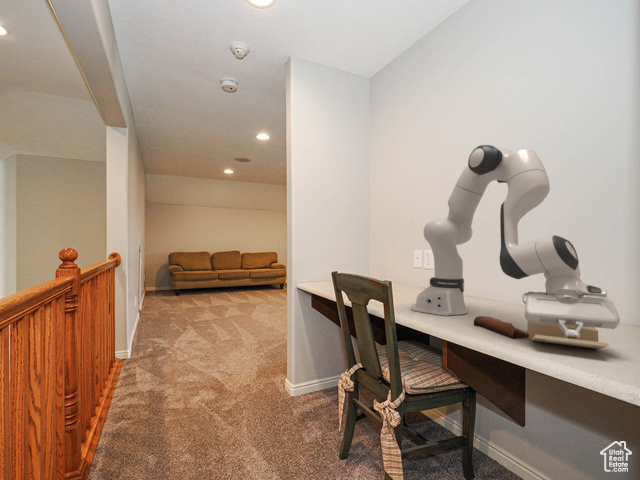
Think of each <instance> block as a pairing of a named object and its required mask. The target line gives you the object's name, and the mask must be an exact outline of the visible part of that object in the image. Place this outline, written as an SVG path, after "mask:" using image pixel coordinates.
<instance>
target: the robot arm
mask: <svg viewBox="0 0 640 480" xmlns="http://www.w3.org/2000/svg"><path fill="white" fill-rule="evenodd" d="M469 154H470V155H469V157H468V161H467V166H466V167H464V169H463V171H462V172H461V174H460V176H459V178H458V180H457V181H456V183H455V185H454V187H453V189H452V192H451V193H450V196H449V198H448V199H447V206H448V215H447V218H436V219H432V220H430V221H428V222H427V223H426V224H425V226H424V228H423V237H424V239H425V241H426V242H428V244H429V246H430V249H431V252H432V255H433V260H434V261H433V262H434V276H432V277H431V278H430V279H429V286H428V287H426V288H425V289H424V290H422V291H421V292H420V293H418V294H417V296H416V300H415V303H414V304H412V305H410V311H413V312H419V313H426V314H433V315H439V316H458V315H466V314H467V313H468V310H467V308H466V303H465V298H464V291H465V279H464V277H463V276H464V275H463V274H464V273H463V272H464V271H463V267H464V266H463V265H464V264H463V258H462V257H461V256H460V255H459V252H458V248H457V246H461V245H462V244H465V243H467V242H469V241H470V240H471V239H472V237H473V228H472V225H473V219H474V215H475V212H476V211H477V208H478V206H479V204H480V202H481V201H482V198H483V195H484V194H485V191H486V189H487V188H488V186H489V184H490V183H492V182H493V181H497V183H499V184H506V185H507V194H506V197H505V199H504V201H503V202H502V203H501V205H500V213H499V214H500V219H499V220H500V221H499V222H500V224H499V226H500V229H499V230H500V251H499V266H500V268H501V271H502V272H503V274H505V275H506V276H508V277H510V278H513V279H515V280H521V279H524V278H528V277H530V276H534V275H535V276H536V275H539V274H543V275H544V278H545V280H546V281H545V285H544V287H545V292H544V291H528V292H525V293H523V294H522V296H521V297H522V302H523V303H524V305H525V307H524V318H525V319H526V320H527V322H528V321H534V322H544V323H555V324H558V327H559V328H560V329H561V330H562V331H563V332H564V334H565V338H571V339H579V338H580V335H579V332H580V331H581V329H582V327H583V326H586V327H595V328H596V329H597V328H598V329H609V330H615V329H616V328H617V327H618V326H619V324H620V316H619V313H618V310H617V307H616V305H615V304H614V302H613V301H612V300H611V299H610V298H609V297H608V291H607V289H605V288H603V287H601V286H595V285H591V284H587V283H585V282H583V281H582V279H581V269H580V266H579V264H580V263H579V262H580V261H579V257H578V254H577V251H576V249H575V246H574V245H573V244H572V242H571V241H569V240H568V239H566V238H564V237H562V236H559V235H549V236H546V237H542V238H538V239H535V240H532V241H530V242H529V241H528V242H526V243H525V242H524V243H521V244H519V234H518V233H519V232H518V231H519V230H518V224H519V223H520V221H521V220H522V218H524V216H525V215H527V214H529V212H531V211H532V210H534V209H535V208H536V207H538V206H540V205H541V204H542V203H543V202H544V200H545V199H546V198H547V197H548V194H549V193H550V190H551V185H550V180H549V176H548V173H547V171H546V168H545V165H544V164H543V162H542V160H541V158H540V157H539V155H538V153H536V151H534V150H532V149H530V148H520V149H517V150H515V151H512V150H510V149H507V148H501V147H497V146H496V147H495V146H494V145H490V144H480V145H478V146H476V147H475V148H473V150H472V151H471V153H469ZM565 325H575V328H577V329H576V330H569V329H567V327H566V326H565Z"/></svg>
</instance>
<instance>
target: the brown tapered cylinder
mask: <svg viewBox="0 0 640 480" xmlns="http://www.w3.org/2000/svg"><path fill="white" fill-rule="evenodd" d="M473 325H474V326H478V327H480V328H481V327H483V328H486V329H488V330H491V331H494V332H497V333H499V334H501V335H504V336H507V337H509V338H511V339H513V340H516V339H529V334H528V332H525V331H523V330H521V329H519V328H516V327H515V326H514V325H513V324H512V323H510V322H506V321H503V320H500V319H497V318H495V317H491V316H484V315H479V316H476V317H475V318H474V319H473Z"/></svg>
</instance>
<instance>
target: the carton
mask: <svg viewBox="0 0 640 480" xmlns="http://www.w3.org/2000/svg"><path fill="white" fill-rule="evenodd" d="M565 326H566V327H567V329H569V330H576V329H577V328H575V325H565ZM527 334H529V337H528V339H529V340H532V337H533V336H534V335H535V334H536V335H544V336H552V337H560V338H565V334H564V332H563V331H562V330H561V329H560V328H559V327H558V324H555V323H544V322H534V321H528V320H527ZM579 335H580V338H579V339H577V340H585V341H594V342H599V330H598V329H597V327H586V326H583V327H582V329H581V331H580V332H579ZM569 339H571V338H569Z"/></svg>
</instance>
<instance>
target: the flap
mask: <svg viewBox="0 0 640 480" xmlns="http://www.w3.org/2000/svg"><path fill="white" fill-rule="evenodd" d="M531 341H532V342H538V343H547V344H555V345H563V346H570V347H578V348H586V349H595V350H599V349H604V348H608V347H609V343H608V342H600V341H598V342H594V341H585V340H577V339H569V338H560V337H552V336H544V335H536V334H535V335H534V336H533V337H532V339H531Z"/></svg>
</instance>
